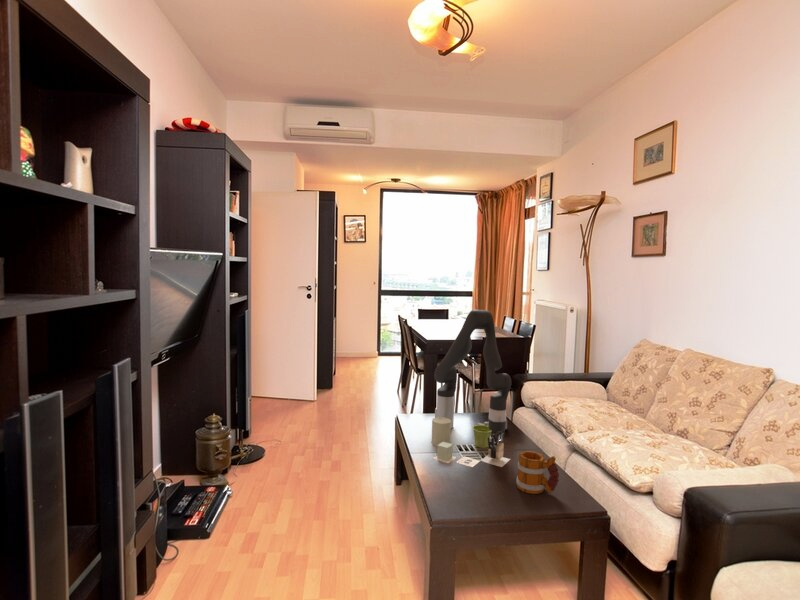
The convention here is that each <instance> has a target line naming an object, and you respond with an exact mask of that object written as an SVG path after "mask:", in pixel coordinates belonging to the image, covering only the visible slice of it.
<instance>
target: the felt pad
mask: <svg viewBox="0 0 800 600" xmlns="http://www.w3.org/2000/svg"><path fill="white" fill-rule="evenodd" d="M510 460H511V458H507V457H504V456H503V457H502V458H501V459H500V460H496V459H493V458H489V457H488V454H487V455H485V456H484V457H483V458H482V459H480V462H482V463H486V464H489V465H493V466H496V467H499V468H503V467H504V466H505V465H506V464H507V463H508V462H509V461H510Z"/></svg>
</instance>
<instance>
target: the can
mask: <svg viewBox="0 0 800 600" xmlns="http://www.w3.org/2000/svg"><path fill="white" fill-rule="evenodd" d="M450 428H451V420H450V419H448V418H444V417H436V418H435V417H433V418H432V419H431V441H430V443H431V444H432V445H433V446H435V447H438V444H440V443H442V442H446V443H450V444H451V429H452V428H451V429H450Z"/></svg>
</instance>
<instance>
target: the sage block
mask: <svg viewBox="0 0 800 600" xmlns="http://www.w3.org/2000/svg"><path fill="white" fill-rule="evenodd" d="M453 447H454V444H452V443H451V442H450V443H446V442H442V443H440V444H438V446H436V448H437V451H436V456H437V458H438V459H441V460H445V461H448V460H449V459H451V458H452V456H454V455H453V452H454V449H453Z"/></svg>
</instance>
